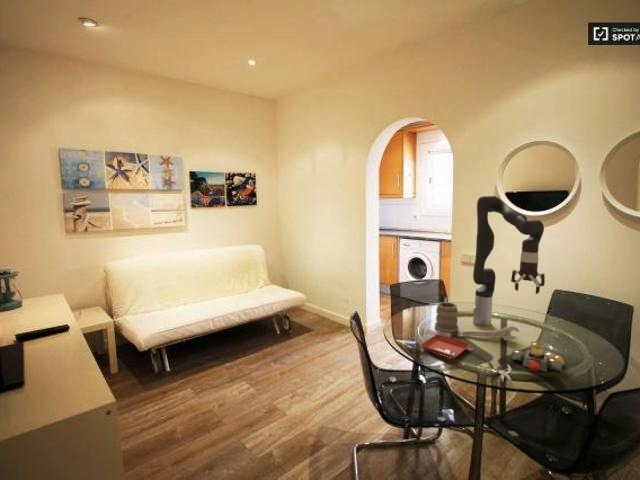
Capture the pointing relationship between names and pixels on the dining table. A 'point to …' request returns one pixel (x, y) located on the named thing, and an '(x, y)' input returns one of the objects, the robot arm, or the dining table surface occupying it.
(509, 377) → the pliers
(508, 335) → the wrench
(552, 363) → the valve body
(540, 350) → the brass knob
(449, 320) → the tankard
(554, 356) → the brass elbow
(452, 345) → the plant saucer
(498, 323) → the dining table surface
